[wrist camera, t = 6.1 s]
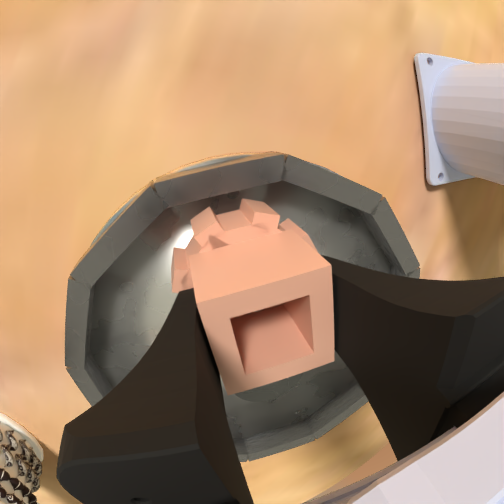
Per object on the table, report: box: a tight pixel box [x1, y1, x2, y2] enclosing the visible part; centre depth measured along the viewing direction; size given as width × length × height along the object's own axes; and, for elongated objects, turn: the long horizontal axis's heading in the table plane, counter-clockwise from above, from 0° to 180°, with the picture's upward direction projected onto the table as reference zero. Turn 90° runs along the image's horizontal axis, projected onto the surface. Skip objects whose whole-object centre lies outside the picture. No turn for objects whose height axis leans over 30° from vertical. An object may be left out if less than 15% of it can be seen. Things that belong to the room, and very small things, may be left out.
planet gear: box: [171, 198, 334, 395], centre depth 11 cm, size 5×5×5 cm
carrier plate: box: [65, 151, 420, 462], centre depth 15 cm, size 19×19×5 cm
